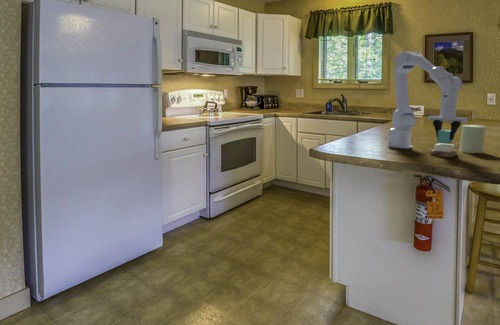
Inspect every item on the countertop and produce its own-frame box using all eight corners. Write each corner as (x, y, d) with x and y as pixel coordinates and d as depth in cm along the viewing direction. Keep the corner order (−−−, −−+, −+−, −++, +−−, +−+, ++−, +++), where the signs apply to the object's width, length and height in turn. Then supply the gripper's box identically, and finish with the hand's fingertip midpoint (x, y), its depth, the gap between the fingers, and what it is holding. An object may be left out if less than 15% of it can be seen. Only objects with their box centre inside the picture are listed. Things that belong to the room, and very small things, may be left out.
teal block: (437, 142, 156) (438, 130, 155) (440, 141, 159) (442, 129, 158) (448, 143, 153) (449, 131, 152) (452, 142, 156) (453, 130, 155)
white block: (433, 150, 156) (434, 144, 156) (438, 148, 160) (439, 143, 160) (449, 152, 152) (449, 146, 152) (453, 150, 156) (454, 144, 156)
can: (483, 154, 158) (486, 126, 156) (458, 152, 163) (461, 125, 160) (482, 151, 166) (486, 124, 163) (459, 149, 171) (462, 123, 168)
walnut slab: (429, 156, 157) (430, 150, 157) (436, 153, 163) (437, 148, 162) (449, 159, 152) (450, 153, 151) (456, 156, 157) (457, 150, 156)
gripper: (426, 106, 155) (423, 138, 158) (464, 107, 145) (460, 141, 148) (432, 105, 160) (429, 136, 163) (470, 106, 150) (466, 139, 152)
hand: (445, 138), depth 155 cm, fingers open, 4 cm apart
